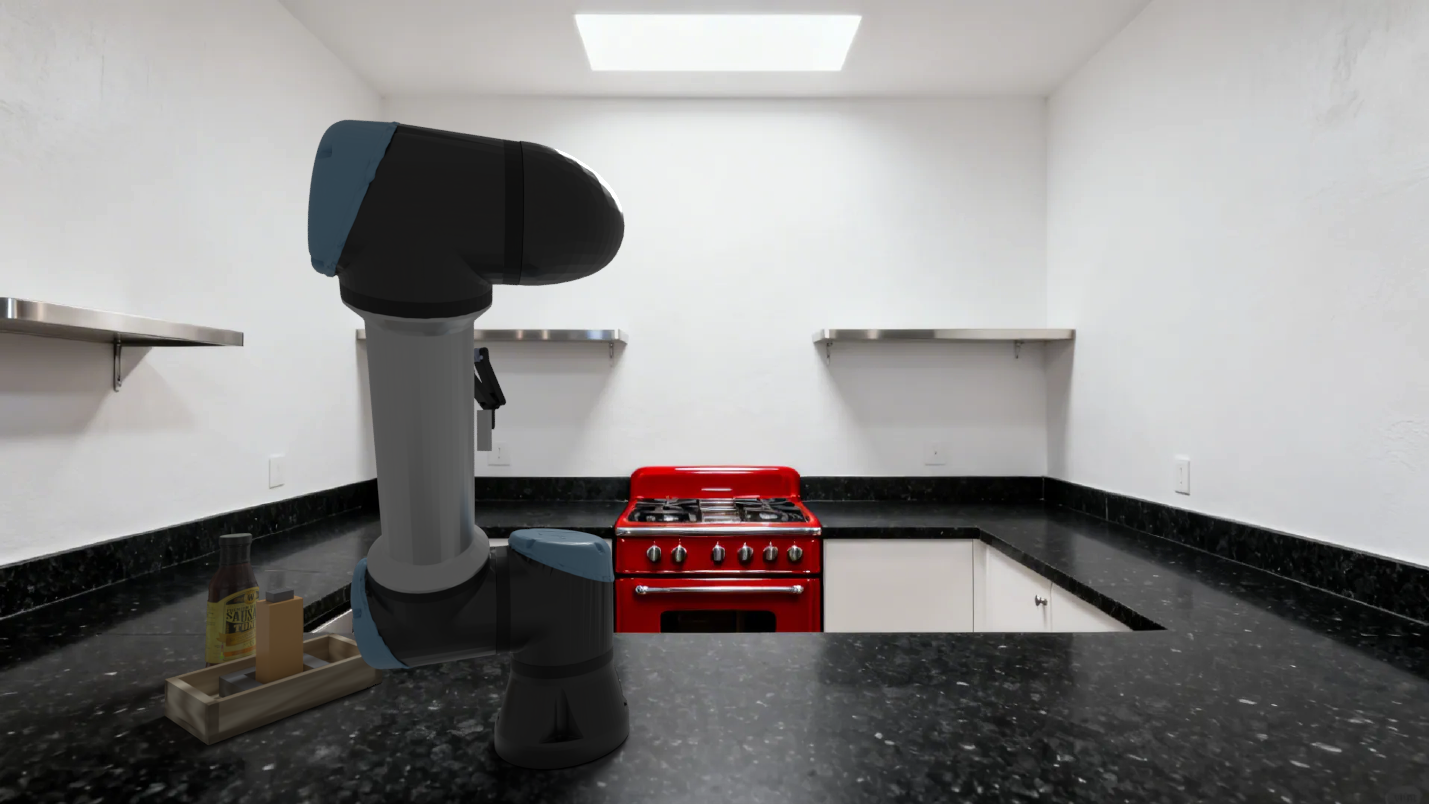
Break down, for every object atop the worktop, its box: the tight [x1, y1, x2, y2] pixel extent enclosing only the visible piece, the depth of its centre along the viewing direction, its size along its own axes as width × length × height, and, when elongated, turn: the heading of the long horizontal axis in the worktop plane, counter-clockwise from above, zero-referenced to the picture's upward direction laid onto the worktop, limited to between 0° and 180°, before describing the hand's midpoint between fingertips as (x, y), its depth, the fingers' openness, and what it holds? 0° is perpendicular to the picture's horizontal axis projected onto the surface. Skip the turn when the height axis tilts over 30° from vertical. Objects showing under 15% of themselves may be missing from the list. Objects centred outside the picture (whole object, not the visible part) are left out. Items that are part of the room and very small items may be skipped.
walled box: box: [164, 632, 383, 746], centre depth 84 cm, size 14×20×4 cm
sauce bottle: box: [204, 532, 260, 668], centre depth 95 cm, size 7×6×20 cm
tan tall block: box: [256, 586, 304, 684], centre depth 84 cm, size 4×4×13 cm
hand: (445, 453), depth 94 cm, fingers open, 13 cm apart
